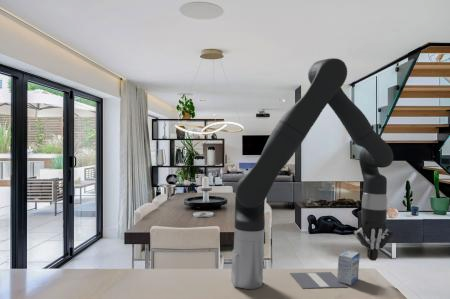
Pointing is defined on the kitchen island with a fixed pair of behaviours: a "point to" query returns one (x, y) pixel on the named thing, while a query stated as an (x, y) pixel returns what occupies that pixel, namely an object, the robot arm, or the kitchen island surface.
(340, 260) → the medicine box
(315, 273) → the mat
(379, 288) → the kitchen island surface
